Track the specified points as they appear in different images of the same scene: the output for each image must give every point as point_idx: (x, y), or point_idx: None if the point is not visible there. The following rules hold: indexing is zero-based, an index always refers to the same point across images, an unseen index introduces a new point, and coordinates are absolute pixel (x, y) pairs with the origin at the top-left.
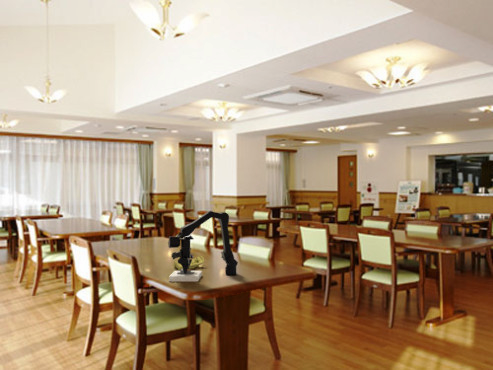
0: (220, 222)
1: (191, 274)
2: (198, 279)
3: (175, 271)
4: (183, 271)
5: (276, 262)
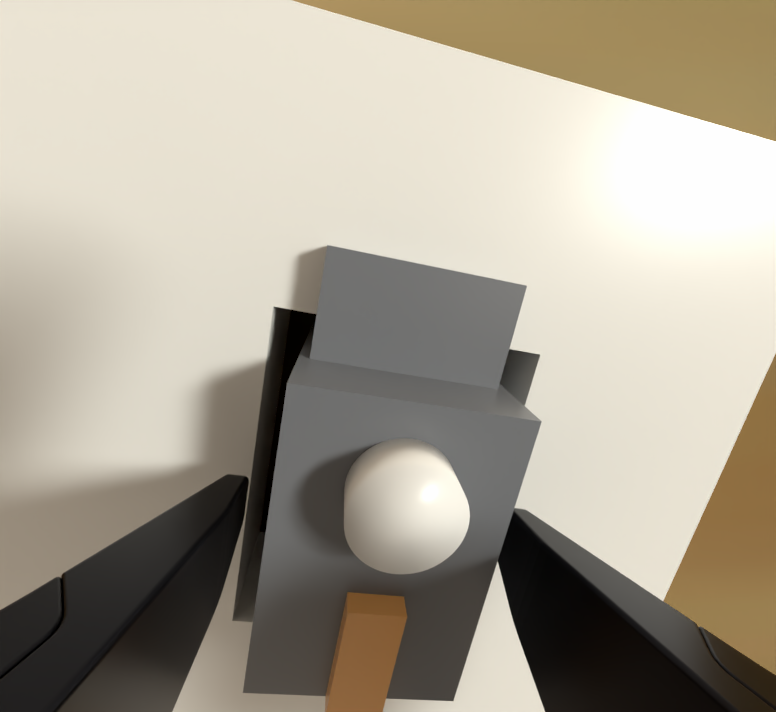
0: None
1: (221, 626)
2: None
3: (741, 190)
4: (273, 483)
5: None
